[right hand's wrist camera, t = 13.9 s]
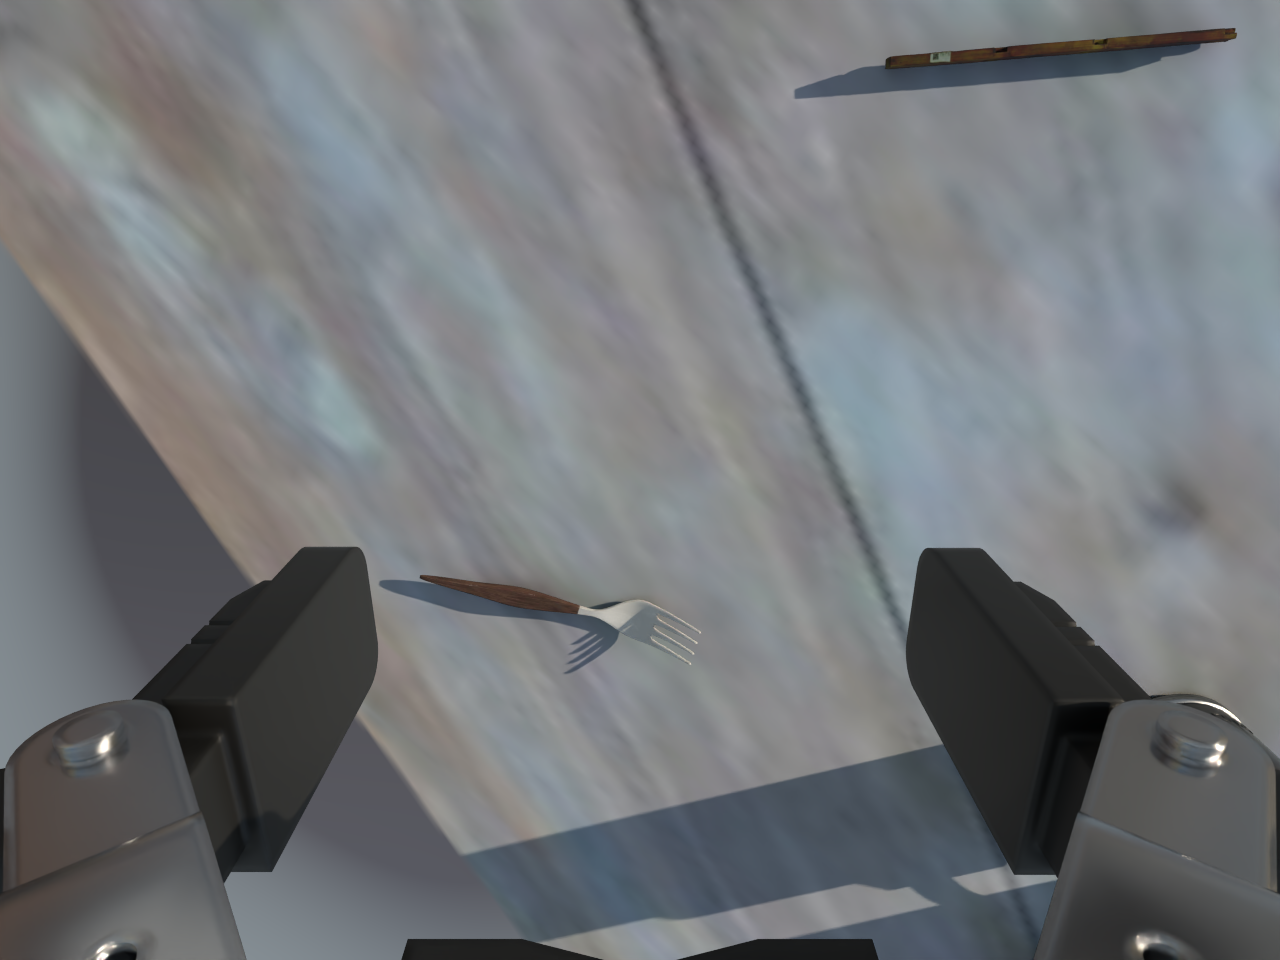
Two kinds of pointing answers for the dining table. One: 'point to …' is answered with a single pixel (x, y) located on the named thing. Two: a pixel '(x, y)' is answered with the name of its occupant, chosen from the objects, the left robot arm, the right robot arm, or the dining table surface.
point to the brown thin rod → (1061, 48)
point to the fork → (580, 610)
